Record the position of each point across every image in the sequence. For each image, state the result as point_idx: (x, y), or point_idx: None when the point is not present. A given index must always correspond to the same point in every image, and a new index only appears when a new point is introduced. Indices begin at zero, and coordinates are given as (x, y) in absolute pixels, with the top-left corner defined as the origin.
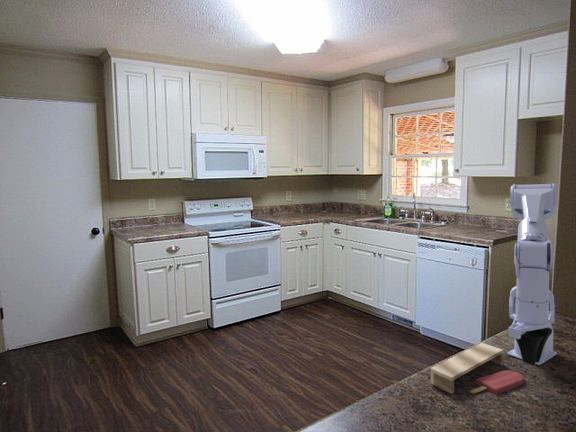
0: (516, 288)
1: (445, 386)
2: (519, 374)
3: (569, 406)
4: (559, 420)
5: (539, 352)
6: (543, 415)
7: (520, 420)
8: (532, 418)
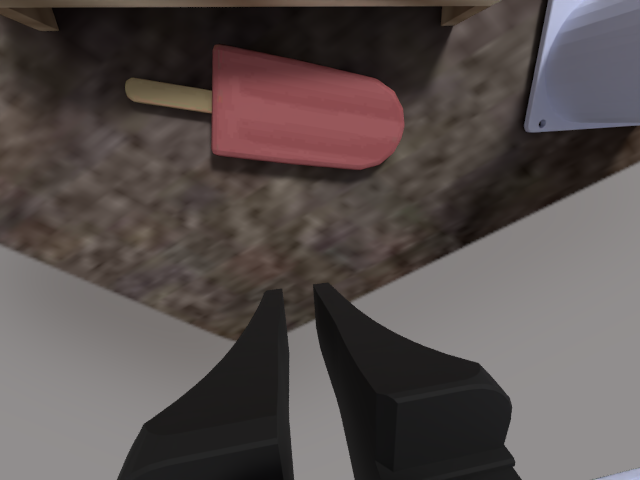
0: None
1: None
2: (390, 142)
3: None
4: None
5: (330, 372)
6: (241, 295)
7: (159, 280)
8: (200, 290)
